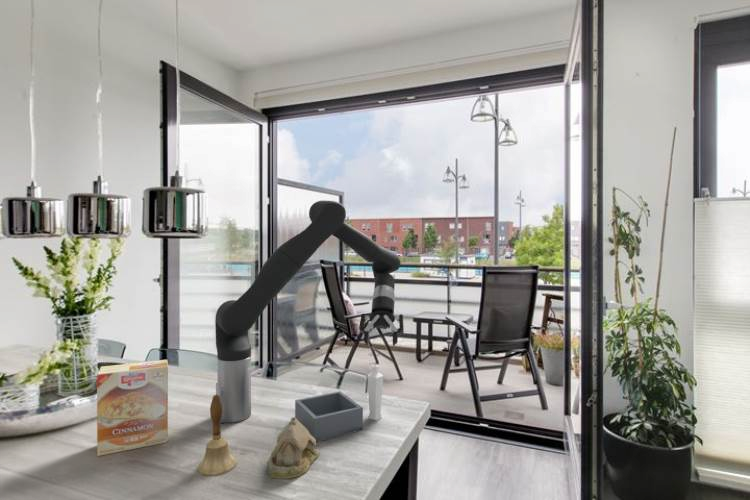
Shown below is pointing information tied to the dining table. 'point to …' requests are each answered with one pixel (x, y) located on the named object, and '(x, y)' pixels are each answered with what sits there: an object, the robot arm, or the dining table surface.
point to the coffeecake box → (132, 406)
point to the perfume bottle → (375, 392)
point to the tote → (329, 415)
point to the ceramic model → (292, 451)
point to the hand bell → (216, 446)
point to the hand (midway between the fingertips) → (380, 344)
